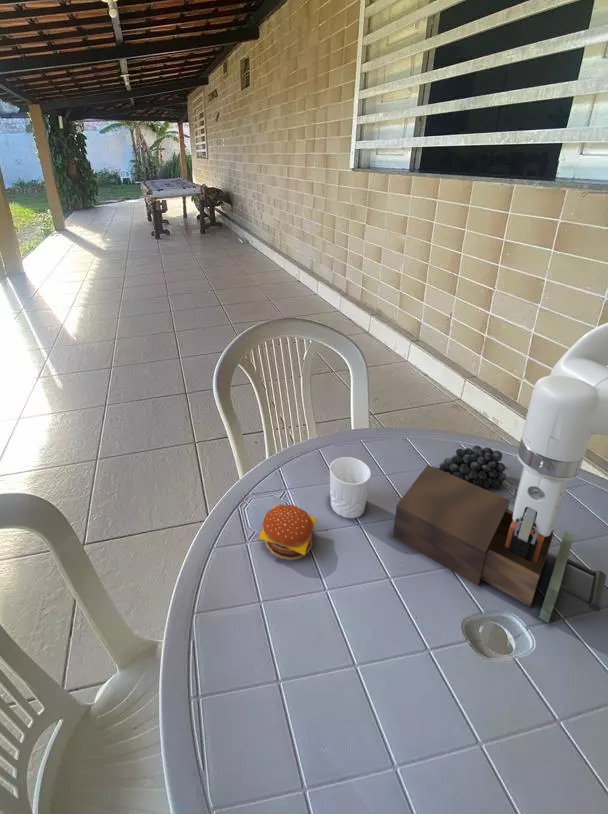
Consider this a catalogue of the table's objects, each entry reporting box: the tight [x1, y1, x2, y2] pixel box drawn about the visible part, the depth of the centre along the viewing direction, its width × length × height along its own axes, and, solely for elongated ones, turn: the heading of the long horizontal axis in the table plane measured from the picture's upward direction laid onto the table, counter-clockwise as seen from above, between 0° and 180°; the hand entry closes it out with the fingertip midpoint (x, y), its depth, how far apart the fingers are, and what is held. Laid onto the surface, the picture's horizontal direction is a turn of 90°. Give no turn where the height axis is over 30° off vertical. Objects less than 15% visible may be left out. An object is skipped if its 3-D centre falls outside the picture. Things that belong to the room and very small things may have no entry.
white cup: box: [329, 456, 372, 519], centre depth 86 cm, size 8×8×10 cm
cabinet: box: [392, 464, 511, 587], centre depth 78 cm, size 15×15×9 cm
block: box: [505, 517, 545, 562], centre depth 69 cm, size 4×4×4 cm
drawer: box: [480, 508, 607, 623], centre depth 70 cm, size 18×13×7 cm
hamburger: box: [258, 504, 318, 561], centre depth 80 cm, size 9×10×7 cm
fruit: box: [436, 445, 509, 489], centre depth 92 cm, size 9×8×15 cm
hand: (524, 544), depth 70 cm, fingers closed on block, 4 cm apart
